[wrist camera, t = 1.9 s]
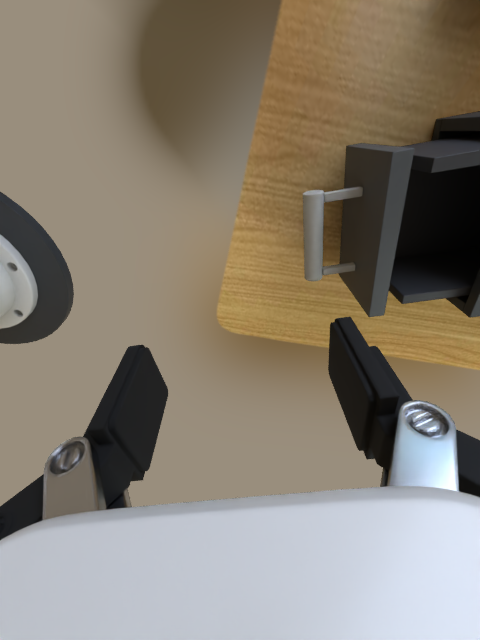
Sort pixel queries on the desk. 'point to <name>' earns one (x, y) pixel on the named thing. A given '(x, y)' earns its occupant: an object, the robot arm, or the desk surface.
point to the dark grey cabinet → (448, 127)
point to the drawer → (402, 222)
